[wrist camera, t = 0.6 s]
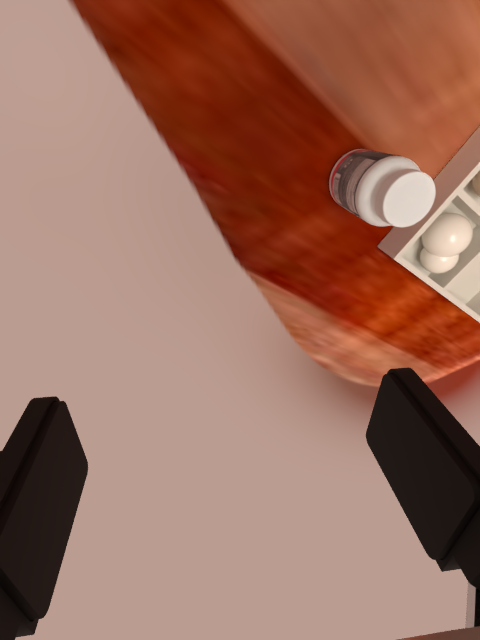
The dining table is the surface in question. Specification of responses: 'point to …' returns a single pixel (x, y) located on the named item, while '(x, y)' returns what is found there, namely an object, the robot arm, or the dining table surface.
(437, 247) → the cream egg
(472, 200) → the grey compartment tray
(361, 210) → the pill bottle
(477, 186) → the brown egg
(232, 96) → the dining table surface
